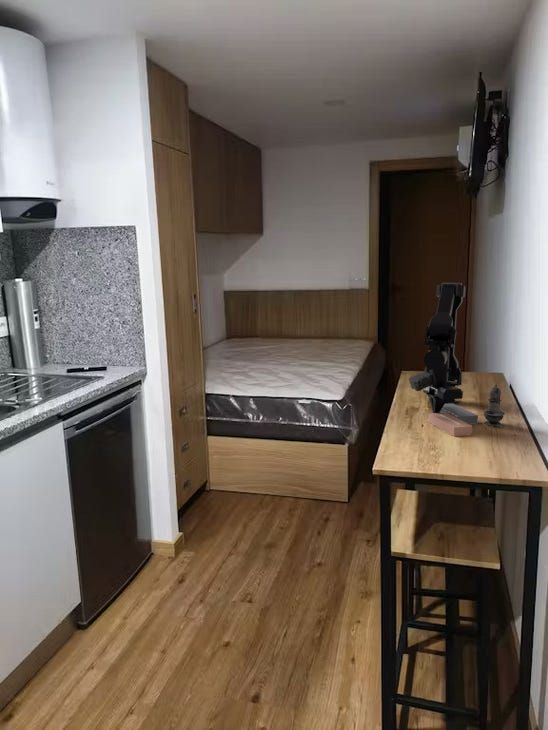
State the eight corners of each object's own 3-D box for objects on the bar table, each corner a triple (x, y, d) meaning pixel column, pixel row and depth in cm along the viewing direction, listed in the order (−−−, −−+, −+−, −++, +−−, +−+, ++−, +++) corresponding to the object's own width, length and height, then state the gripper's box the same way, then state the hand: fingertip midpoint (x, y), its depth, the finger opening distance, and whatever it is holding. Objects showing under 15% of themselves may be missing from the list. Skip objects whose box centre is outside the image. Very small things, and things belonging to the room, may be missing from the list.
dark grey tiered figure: (502, 422, 166) (505, 382, 163) (505, 428, 160) (508, 387, 158) (481, 420, 167) (484, 381, 165) (483, 426, 162) (486, 386, 159)
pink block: (428, 421, 166) (428, 413, 166) (445, 420, 168) (445, 411, 167) (453, 436, 153) (454, 427, 153) (472, 434, 154) (472, 425, 154)
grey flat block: (431, 412, 176) (432, 404, 176) (452, 410, 178) (452, 403, 177) (456, 425, 163) (456, 416, 162) (477, 423, 164) (478, 415, 164)
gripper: (399, 359, 172) (397, 408, 175) (429, 371, 154) (426, 426, 157) (432, 358, 174) (429, 406, 177) (465, 369, 156) (462, 423, 159)
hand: (435, 415), depth 168 cm, fingers closed
